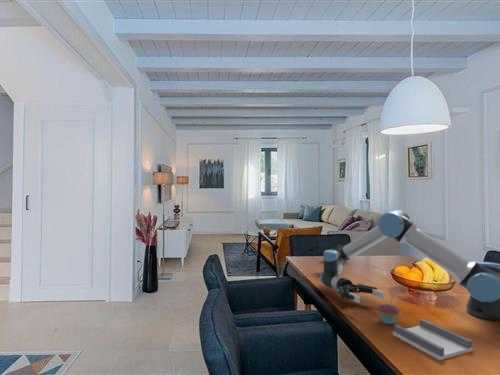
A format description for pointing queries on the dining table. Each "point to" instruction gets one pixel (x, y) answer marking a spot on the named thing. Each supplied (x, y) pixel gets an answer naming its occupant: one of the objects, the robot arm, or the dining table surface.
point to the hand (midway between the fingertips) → (371, 298)
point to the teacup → (340, 269)
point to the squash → (337, 248)
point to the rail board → (434, 340)
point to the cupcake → (388, 312)
